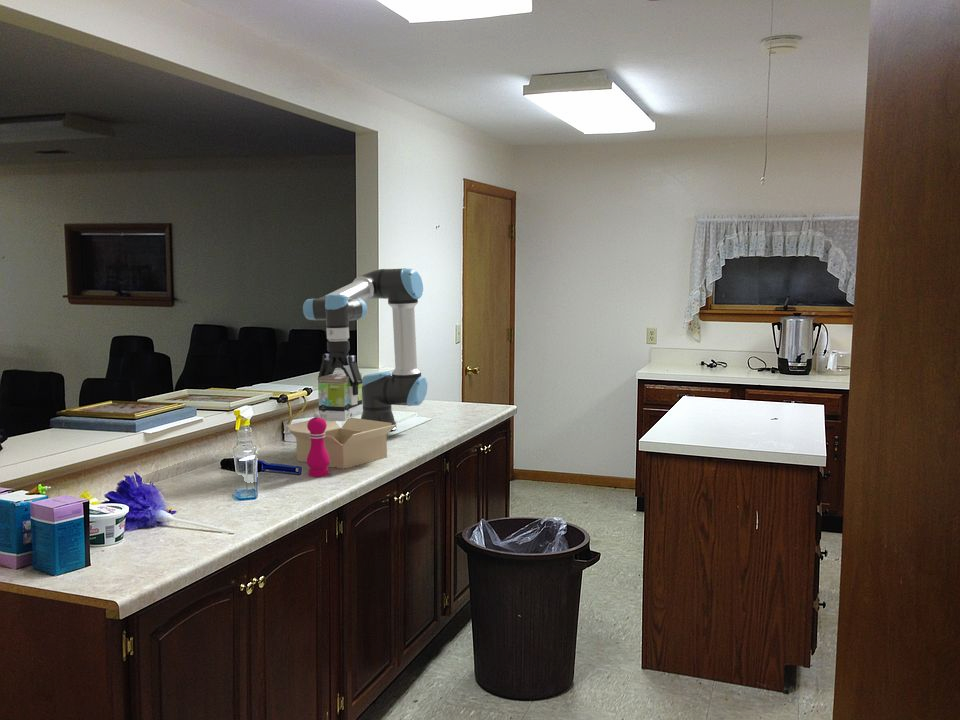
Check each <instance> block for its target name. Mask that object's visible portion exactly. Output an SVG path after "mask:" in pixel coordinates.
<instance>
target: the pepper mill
mask: <svg viewBox="0 0 960 720" xmlns="http://www.w3.org/2000/svg"><path fill="white" fill-rule="evenodd" d="M308 421H309V422H308V424H307V428H308V430H309V431H310V433H309V435H310V436H309V438H311V448H310V451H309V454H308V457H307V462H306V465H307V466H308V467H309V469H308V476H309V477H312V478H322V476H323V477H326V475H327V476H328V475H330V470H329V468H328V467H329V466H328V465H329V463H330V458H329V455H328V453H327V450H326V448H325V445H324V437H325V432H324V431H325V429H326V427H327V424H326V421H325V420H324V419H322V418H319V412H315V413H314V414H313V417H312V418H310V419H309V420H308Z"/></svg>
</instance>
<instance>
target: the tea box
mask: <svg viewBox="0 0 960 720" xmlns="http://www.w3.org/2000/svg"><path fill="white" fill-rule="evenodd" d="M360 375H361V378H363V376H362V372H360ZM317 383H318V385H317V387H318V388H317V390H318V391H317V392H318V395H317V396H318V397H317V398H318V413H319V418H322V419H324V420H325V421H336V422H346V421H347V419H350V418H356V417H357V416H361V415H362V412H363V404H362V384H359V385H358V395H357V403H358V404H356V405H350V385H351V383H350V381H349V377H347V376H346V374H345V372H333V374H330V375H326V376H323V377H319V378H318V377H317Z"/></svg>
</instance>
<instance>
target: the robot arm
mask: <svg viewBox="0 0 960 720" xmlns="http://www.w3.org/2000/svg"><path fill="white" fill-rule="evenodd" d="M423 292H424V284H423V279H422V277H421V275H420V273H419V272H418V271H417V270H415V269H414V268H380V269H375V270H372V271H368V272H367V273H364V274H361V275H359V276H357V277H355V279H354V280H352V282H351V283H349V284H347V285H345V286H342V287H340V288H338V289H336V290H334V291H332V292H330V293H328V294H326V295H324V296H321V297H319V298H308V299H306V300H305V301H304V303H303V305H302V311H303V312H302V313H303V315H304V317H305V319H307V320H310V321H316V322H317V321H325V323H326V339H327V342H326V350H327V352H328V353H323V354H322V356H321V357H322V358H321V359H322V360H321V364H320V367H319V372H318V375H317V376H318V377H317V379H318V378H319V377H323V376H326V375H330V374H333V373H335V370H336V368H339V369H341V370H343V373H345V374H346V376H347V377H349V381H350V383H351V385H350V405H356V404H358V403H357V395H358V385H359V384H362V414H361V415H360V416H361V417H360V419H365V420H373V421H381V422H388V423H392V424H391V425H395V424H396V426H395V427H396V428H397V421H396V420H395V417H394V414H393V410H392V409H393V408H392V406H407V407H414V406H415V407H417V406H420V405H421V404H422V403H423V402H424V401H425V398H426V396H427V393H428V392H427V391H428V381H427V378H426V377H424V376H422V370H421V369H419V368H418V364H417V363H418V359H417V358H418V357H417V341H416V340H417V338H416V319H415V317H416V315H415V307H416V306H417V304H418V303H419V300H418V299H421V298H422V296H423ZM371 299H372V300H373V299H385V300H386V299H387V304H388V305H389V307H390V308H391V310H392V327H393V329H392V330H393V348H394V350H393V352H394V369H393V370H392V372H391V371H383V372H382V371H381V372H375V373H369V374H366V375H363V376H362V378H361V375H360V373H361V372H360V370H359V367H358V363H357V356H356V355H350V354H349V352H350V349H351V347H350V340H349V339H350V327H349V326H350V325H349V323H350V322H351V321H359V320H360V319H364V318H365V316H367V313H368V306H367V303H366V301H369V300H371Z"/></svg>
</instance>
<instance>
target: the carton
mask: <svg viewBox="0 0 960 720" xmlns="http://www.w3.org/2000/svg"><path fill="white" fill-rule="evenodd" d="M308 422H309V420H305V421H299V422H294V423H290V424H286V426H287V428H288V429H289V430H288V432H289V433H290V434H292V435H293V436H294V437H295V439H296V461H297V462H302V463H307V457H308V454H309V451H310V448H311V438H309V436H310V435H309V433H310V431H309V430H308V428H307V424H308ZM326 424H327V427H326V429H325V431H324V432H325V437H324V445H325V448H326V450H327V453H328V455H329V458H330V463H329V465H328V466H327V467H330V468H335V467H337V468H336V469H340V468H343V469H342V470H345V469H344V468H346V469H349V468H348V467H350V468H353V467H356V465H357V466H360V465H364V464H368V463H370V462H374V460H375V461H378V460H382V459H386V458H388V449H387V448H388V446H387V445H388V444H387V435H388V434H389V433H390V432H392V431H391V430H392V429H393V428H394V427H395V426H396V427H397V423H396V424H395V425H391V424H392V423H388V422H381V421H373V420H365V419H361V418H356V417H352V418H350V419H347V420H346V421H344V423H343V425H342V426H340V425H339V424H338V423H337V421H326ZM385 457H386V458H385ZM381 458H382V459H381ZM367 462H368V463H367ZM359 464H360V465H359ZM352 466H353V467H352Z"/></svg>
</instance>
